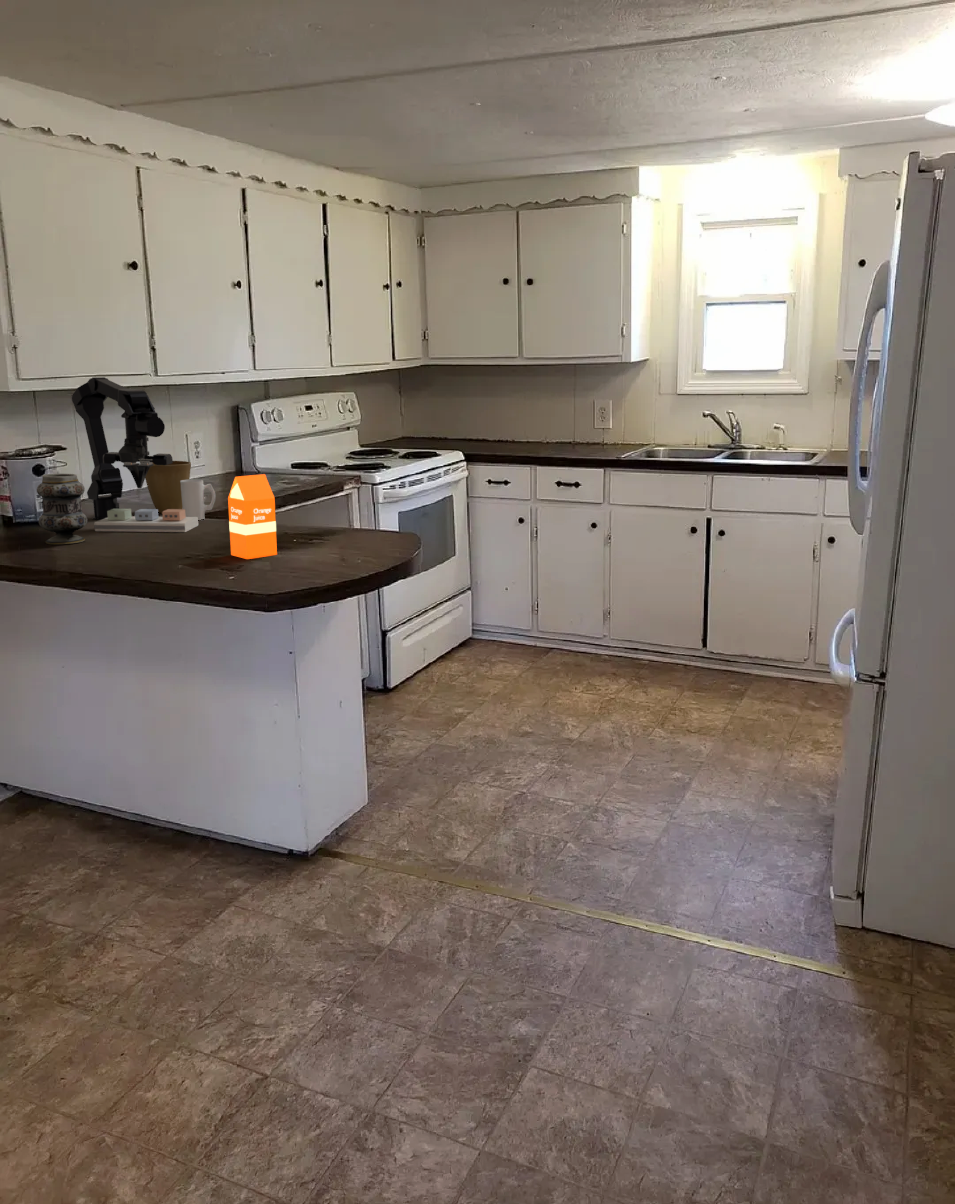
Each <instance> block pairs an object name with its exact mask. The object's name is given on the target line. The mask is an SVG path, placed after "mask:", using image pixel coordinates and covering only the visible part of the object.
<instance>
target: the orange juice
mask: <svg viewBox="0 0 955 1204" xmlns="http://www.w3.org/2000/svg"><path fill="white" fill-rule="evenodd" d="M275 498H276V497H275V495H274V493H273V491H272V488H271V486H270V483H269V481H268V479H267V475H266V474H265V473H263V474H252V475H250V474H249V475H241V476H235V477H234V479H233V482H232V485H231V488H230V492H229V494H228V497H227V501H228V503H227V504H228V505H227V507H228V519H229V520H228V525H229V529H228V530H229V540H230V541H229V543H230V555H231V556H234V557H238V558H242V559H245V560H250V559H251V560H252V559H259V558H263V557H264V558H265V557H271V556H276V555H277V556H278V551H277V550H278V548H277V545H278V544H277V521H276V502H275Z"/></svg>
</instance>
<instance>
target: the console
mask: <svg viewBox="0 0 955 1204" xmlns="http://www.w3.org/2000/svg"><path fill="white" fill-rule="evenodd" d="M131 516H132V517H131V518H129V519H126V520H108V517H107V518H105V519H98V520H97V521H94V525H93V527H94V531H95V532H131V533H132V532H138V533H140V532H143V533H144V532H145V533H146V532H147V533H151V532H152V533H186V532H188V531H190V530H192V529H194V528H196V527H198V526H199V521H198V517H186V518H184V519H182V520H180V521H179V520H163V516H159V518H156V519H154V520H135V515H134V516H133V515H131Z"/></svg>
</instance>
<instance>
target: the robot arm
mask: <svg viewBox="0 0 955 1204" xmlns="http://www.w3.org/2000/svg"><path fill="white" fill-rule="evenodd" d="M108 398H109V399H111V400H113V401H115V402H117V406H118V407H119V408H121V409H122V411H124V412H122V414H121V415H120V417H121V418H122V419H124V424H125V438H124V444H123V446H122V447H120V449H119V450H118V452H117V451H116V452H115V451H110V452H109V449H108V444H107V438H106V434H105V430H104V426H103V422H102V414H103V412H104V409H105V404H104V402H105V401H106V400H107V399H108ZM71 401H72V403H73V406H74V409H75V413H77V414H78V415H79V416H80V418H81V419H82V420H83V421H84V426H85V431H86V436H87V439H88V444H89V448H90V453H91V458H92V461H93V466H94V467H93V470H92V473H91V476H90V478H91V483H90V486H89V487H88V489H87V491H86V495H87V498H88V500H92V502H93V504H92V505H93V512H94V513H93V514H94V516H93V517H92V520H102V519H105V518H107V517H108V515H107V511H109V510H112V509H120V502H118V499H119V498H122V496H123V486H124V483H123V480H124V479H122V475H121V474H122V473H121V470H120V469H119V467H115V466H114V464H115V463H116V462H120V463H123V464H122V467H123V468H126V469H127V470H128V471H129V472H130V474H131V476H132V478H133V481H134V483H135V485H136V487H137V489H142V488H143V485H144V483H145V481H146V479H145V477H146V474H147V472H148V470H149V468H150V467H151V466H154V464H155V465H169V464H172V463H173V461H174V460H173V456H172V454H171V453H156V454H153V455H150V451H149V450H148V442H149V440H150V439H149V437H154V438H158V437H160V436H162V435H163V434H164V432H165V429H166V428H165V423H164V420H163V419H161V418H160V417H159V415H158V414H159V413H158V412H156V409H155V407H154V405H153V404H152V401H151V399H150V397H149V395H148V393H147V392H146V391H145V390H143V389H138V388H137V389H135V388H127V387H125V386H123V385H120V384H119V383H116V382H114V381H111V380H109V378H108V377H107V378H106V377H105V376H103V377H98V376H95V377H91V378H89V379H88V381H87V382H86V383H85V382H84V383H83V384H82V385H80V386H78V387H77V388H76V389H75V390H74V391H73V393H72V395H71ZM152 462H153V463H154V464H152Z"/></svg>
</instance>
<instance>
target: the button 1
mask: <svg viewBox="0 0 955 1204" xmlns="http://www.w3.org/2000/svg"><path fill="white" fill-rule="evenodd" d="M107 515H108V520H126V519H129V518H131V517H132V516H133V515H132V508H119V509H112V510H109V511H107Z"/></svg>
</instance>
